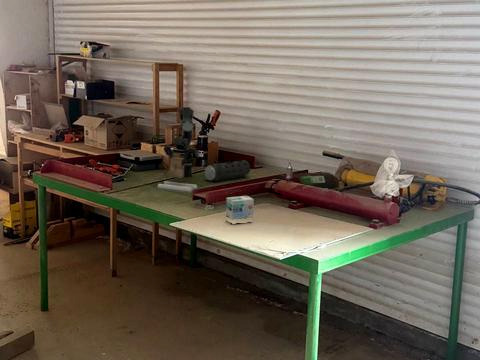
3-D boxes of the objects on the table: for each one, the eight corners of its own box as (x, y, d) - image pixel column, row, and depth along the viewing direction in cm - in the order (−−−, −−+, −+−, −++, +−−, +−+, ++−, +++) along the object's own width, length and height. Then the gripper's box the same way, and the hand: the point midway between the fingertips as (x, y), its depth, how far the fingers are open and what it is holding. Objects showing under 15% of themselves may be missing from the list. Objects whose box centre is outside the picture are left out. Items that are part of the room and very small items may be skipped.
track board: (166, 185, 321) (166, 180, 320) (197, 189, 314) (197, 184, 314) (156, 189, 311) (156, 184, 310) (189, 193, 304) (189, 188, 304)
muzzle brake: (250, 178, 346) (250, 161, 344) (214, 184, 327) (214, 166, 325) (239, 175, 353) (239, 158, 351) (203, 181, 334) (203, 163, 332)
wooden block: (173, 175, 314) (173, 157, 311) (184, 176, 311) (184, 158, 309) (169, 176, 310) (169, 158, 308) (180, 178, 308) (180, 159, 305)
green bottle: (277, 196, 306) (278, 177, 304) (269, 191, 315) (270, 173, 313) (342, 192, 319) (343, 174, 317) (333, 188, 328) (334, 170, 326)
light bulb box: (231, 225, 252) (232, 201, 250) (225, 220, 258) (225, 197, 256) (253, 222, 257) (254, 198, 255) (246, 218, 263) (247, 195, 260)
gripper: (165, 130, 313) (155, 154, 305) (196, 133, 306) (187, 157, 299) (171, 143, 322) (162, 166, 314) (202, 146, 315) (193, 169, 308)
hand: (176, 164), depth 308 cm, fingers closed on wooden block, 6 cm apart
